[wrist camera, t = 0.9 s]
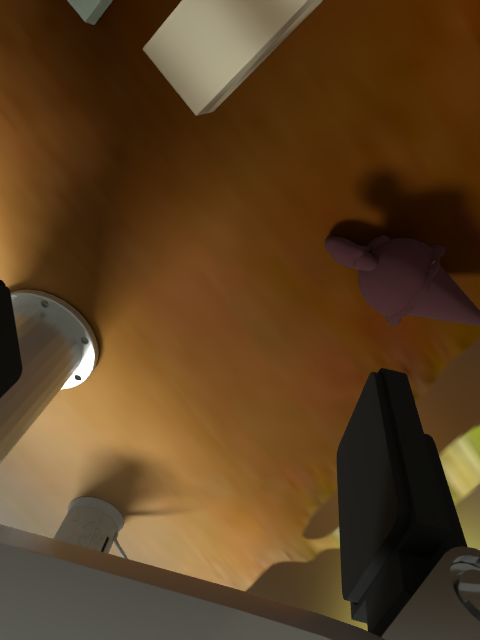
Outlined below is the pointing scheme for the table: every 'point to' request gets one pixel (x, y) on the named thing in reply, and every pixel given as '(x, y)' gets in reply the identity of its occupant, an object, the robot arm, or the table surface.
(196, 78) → the beige long block
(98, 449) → the table surface
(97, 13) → the base board
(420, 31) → the table surface
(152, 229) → the table surface
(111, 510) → the glass holder
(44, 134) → the table surface
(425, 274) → the icecream
